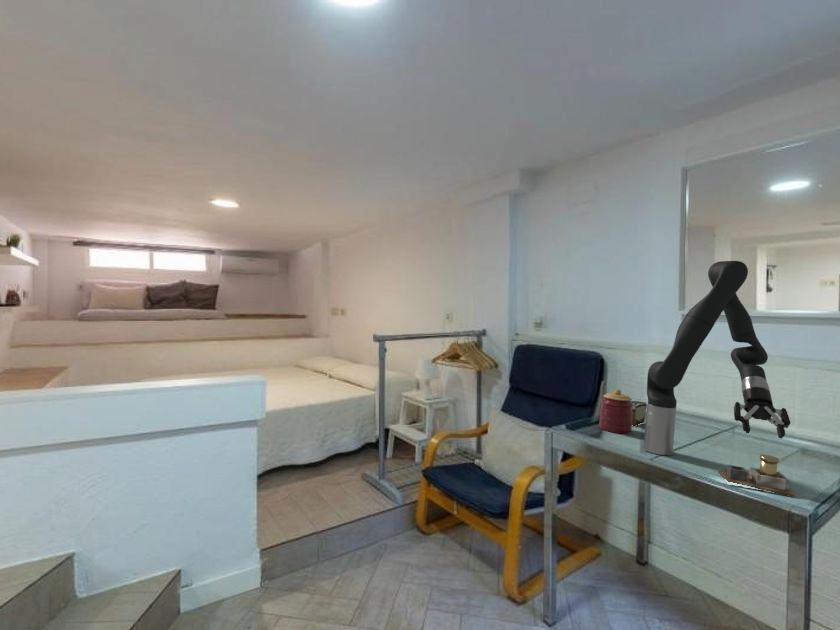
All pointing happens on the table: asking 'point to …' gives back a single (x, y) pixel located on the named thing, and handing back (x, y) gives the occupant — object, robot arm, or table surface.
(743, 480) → the collar base
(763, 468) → the gold round-topped cylinder
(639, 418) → the food container
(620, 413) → the canister
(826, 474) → the table surface
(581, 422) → the table surface
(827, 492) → the table surface
